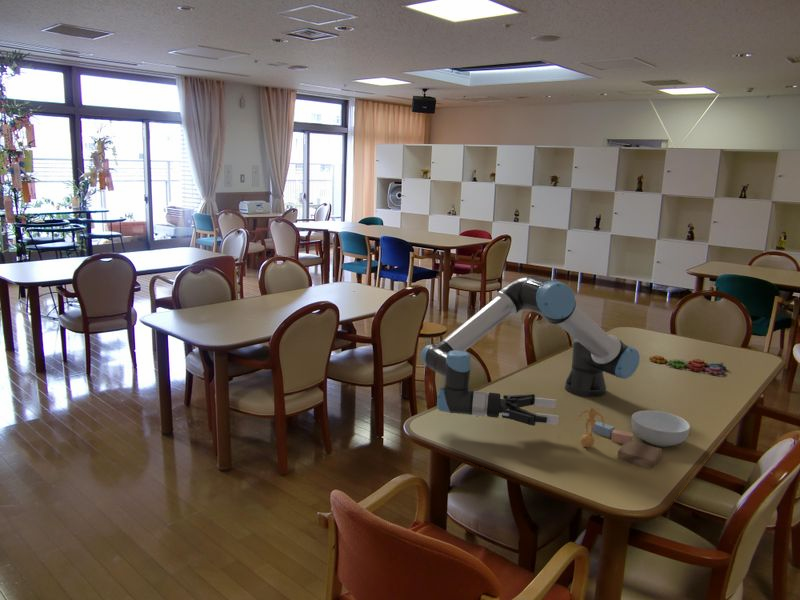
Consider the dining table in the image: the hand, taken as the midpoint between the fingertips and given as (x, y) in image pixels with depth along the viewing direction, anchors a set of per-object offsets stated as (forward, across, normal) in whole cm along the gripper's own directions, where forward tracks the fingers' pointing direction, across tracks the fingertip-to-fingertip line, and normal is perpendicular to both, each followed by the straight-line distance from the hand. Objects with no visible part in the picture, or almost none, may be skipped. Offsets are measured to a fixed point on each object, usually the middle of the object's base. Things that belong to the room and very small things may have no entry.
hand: (557, 411), depth 192 cm
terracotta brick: (+21, -6, -10) cm, 24 cm away
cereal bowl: (+32, -9, -10) cm, 35 cm away
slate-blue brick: (+16, -11, -10) cm, 22 cm away
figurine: (+10, 0, -10) cm, 14 cm away
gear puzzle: (+62, -98, -9) cm, 116 cm away
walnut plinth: (+24, +5, -10) cm, 27 cm away
